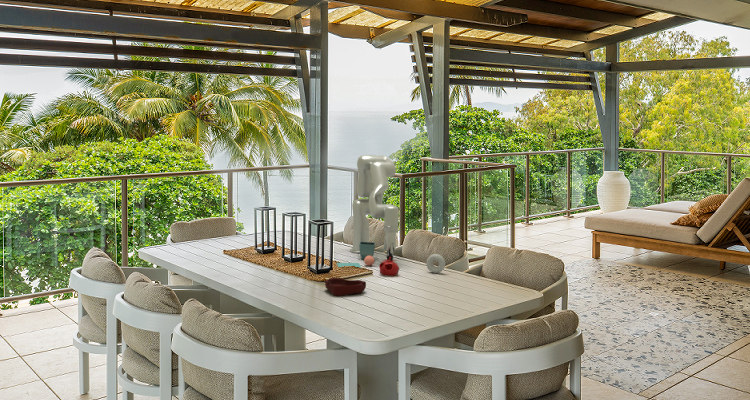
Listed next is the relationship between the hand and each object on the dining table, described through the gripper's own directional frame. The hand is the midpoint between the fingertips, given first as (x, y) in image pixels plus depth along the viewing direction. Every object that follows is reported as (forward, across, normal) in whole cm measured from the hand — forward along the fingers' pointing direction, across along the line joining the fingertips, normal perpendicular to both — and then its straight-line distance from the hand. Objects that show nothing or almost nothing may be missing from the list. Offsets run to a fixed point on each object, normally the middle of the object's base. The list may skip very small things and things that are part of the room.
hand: (389, 263), depth 356 cm
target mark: (+2, 0, -22) cm, 22 cm away
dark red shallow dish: (+2, +61, -30) cm, 68 cm away
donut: (+2, +18, +21) cm, 28 cm away
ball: (-1, 0, -11) cm, 11 cm away
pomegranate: (+2, +23, -4) cm, 23 cm away
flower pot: (+2, -19, -10) cm, 22 cm away
